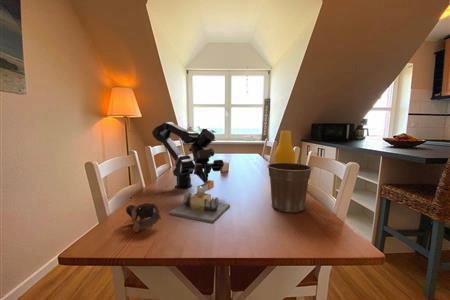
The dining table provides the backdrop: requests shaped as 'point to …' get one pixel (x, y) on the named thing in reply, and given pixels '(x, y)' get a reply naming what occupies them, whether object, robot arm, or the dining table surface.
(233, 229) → the dining table surface
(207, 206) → the valve body
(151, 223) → the pottery mug
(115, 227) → the dining table surface
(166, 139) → the robot arm
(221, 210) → the rubber mat
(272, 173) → the plant pot
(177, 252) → the dining table surface
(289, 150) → the yellow bottle
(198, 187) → the valve lever
